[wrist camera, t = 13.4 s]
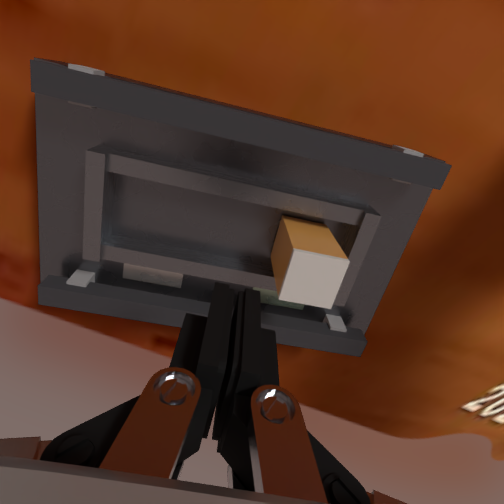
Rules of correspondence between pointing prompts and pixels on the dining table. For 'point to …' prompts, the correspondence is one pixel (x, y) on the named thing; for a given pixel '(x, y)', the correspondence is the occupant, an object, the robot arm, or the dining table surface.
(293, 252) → the block
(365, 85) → the dining table surface
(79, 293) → the pair of grey rails
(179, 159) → the panel
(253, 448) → the robot arm
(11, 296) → the dining table surface
